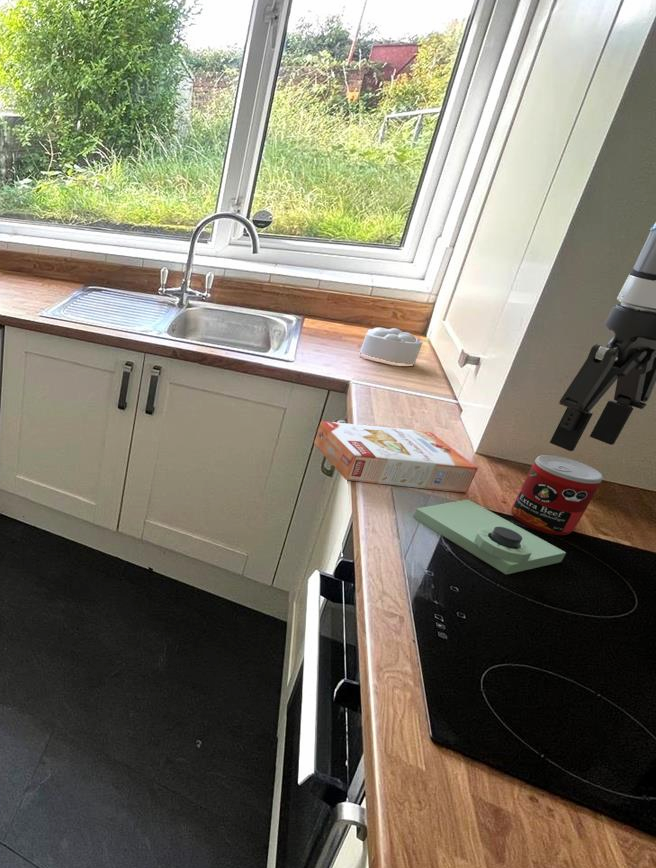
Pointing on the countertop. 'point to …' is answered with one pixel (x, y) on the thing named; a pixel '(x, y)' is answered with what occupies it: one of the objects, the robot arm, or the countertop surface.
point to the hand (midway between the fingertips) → (581, 443)
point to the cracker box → (394, 457)
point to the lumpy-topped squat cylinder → (391, 345)
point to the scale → (487, 536)
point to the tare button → (506, 537)
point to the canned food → (555, 494)
